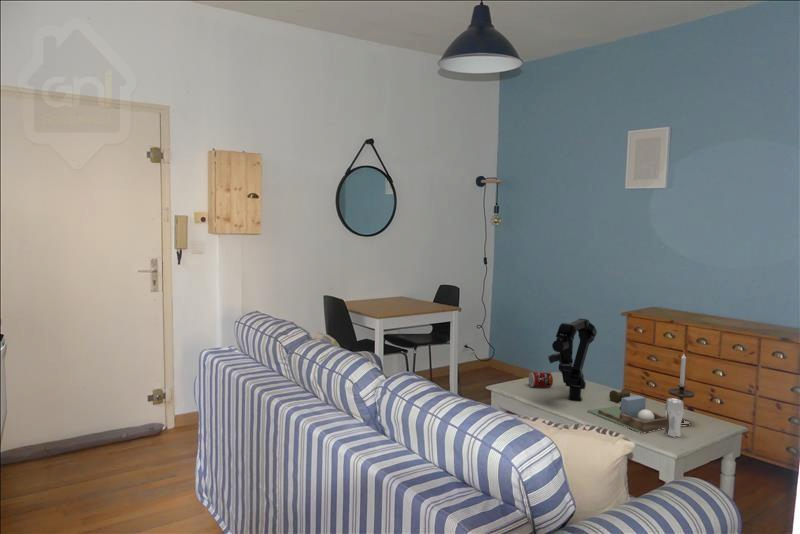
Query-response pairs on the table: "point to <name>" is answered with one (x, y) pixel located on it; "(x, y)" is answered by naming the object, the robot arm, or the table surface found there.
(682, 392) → the candlestick
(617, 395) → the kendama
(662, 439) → the table surface
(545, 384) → the canned food
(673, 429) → the beer glass
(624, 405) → the block
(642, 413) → the ball
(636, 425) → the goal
